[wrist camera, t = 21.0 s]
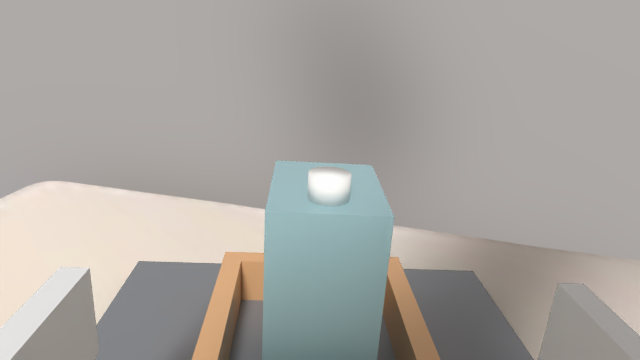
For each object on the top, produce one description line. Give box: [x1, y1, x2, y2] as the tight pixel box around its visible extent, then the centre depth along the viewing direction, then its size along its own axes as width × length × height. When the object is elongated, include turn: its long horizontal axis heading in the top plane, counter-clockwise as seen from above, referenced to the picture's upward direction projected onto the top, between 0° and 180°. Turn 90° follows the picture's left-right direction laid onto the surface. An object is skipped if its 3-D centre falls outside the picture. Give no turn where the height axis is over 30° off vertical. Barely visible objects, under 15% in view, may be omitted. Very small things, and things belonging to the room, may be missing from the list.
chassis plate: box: [94, 252, 534, 360], centre depth 21 cm, size 22×18×4 cm
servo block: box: [262, 161, 394, 360], centre depth 20 cm, size 4×6×10 cm
